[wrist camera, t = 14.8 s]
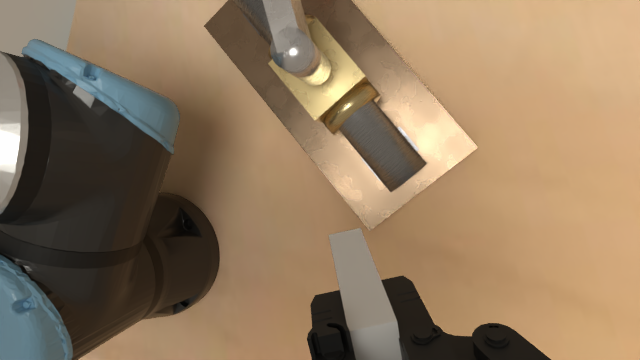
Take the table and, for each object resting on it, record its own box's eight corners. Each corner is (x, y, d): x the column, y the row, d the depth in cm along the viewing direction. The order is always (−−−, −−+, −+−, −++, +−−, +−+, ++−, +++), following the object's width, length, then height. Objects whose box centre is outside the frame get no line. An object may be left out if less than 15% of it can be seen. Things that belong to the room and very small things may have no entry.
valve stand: (475, 147, 41) (490, 146, 33) (371, 228, 45) (360, 246, 36) (296, -61, 44) (269, -109, 36) (210, 29, 47) (167, 4, 39)
